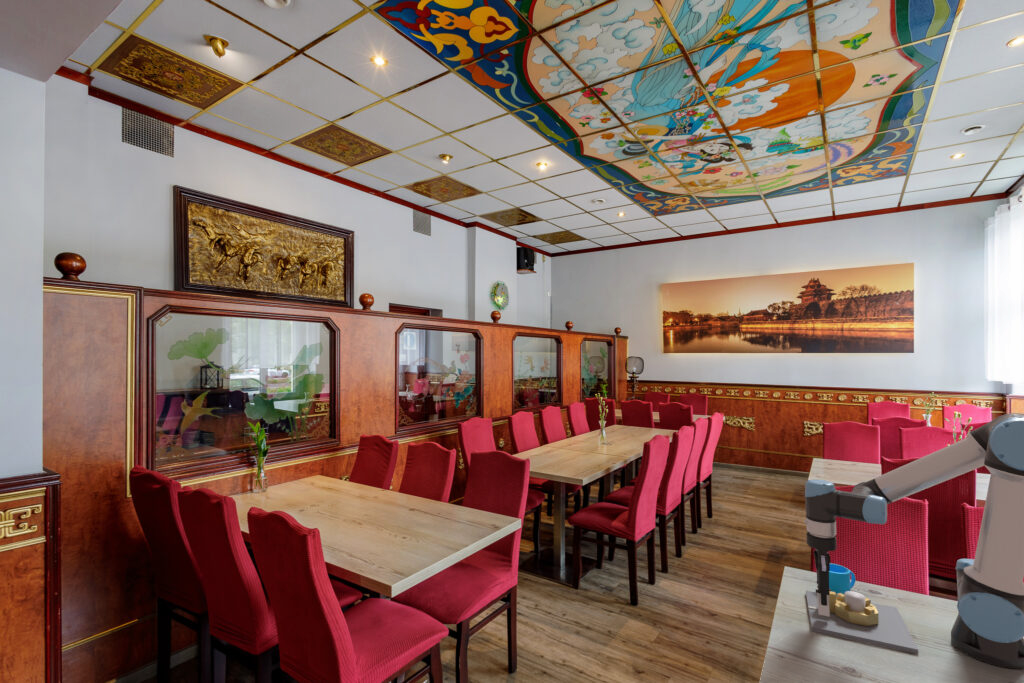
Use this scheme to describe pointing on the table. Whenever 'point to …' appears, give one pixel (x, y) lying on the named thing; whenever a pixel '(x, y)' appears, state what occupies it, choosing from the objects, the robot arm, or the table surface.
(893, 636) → the housing plate
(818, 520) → the robot arm
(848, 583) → the mug
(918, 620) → the table surface
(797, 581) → the table surface
